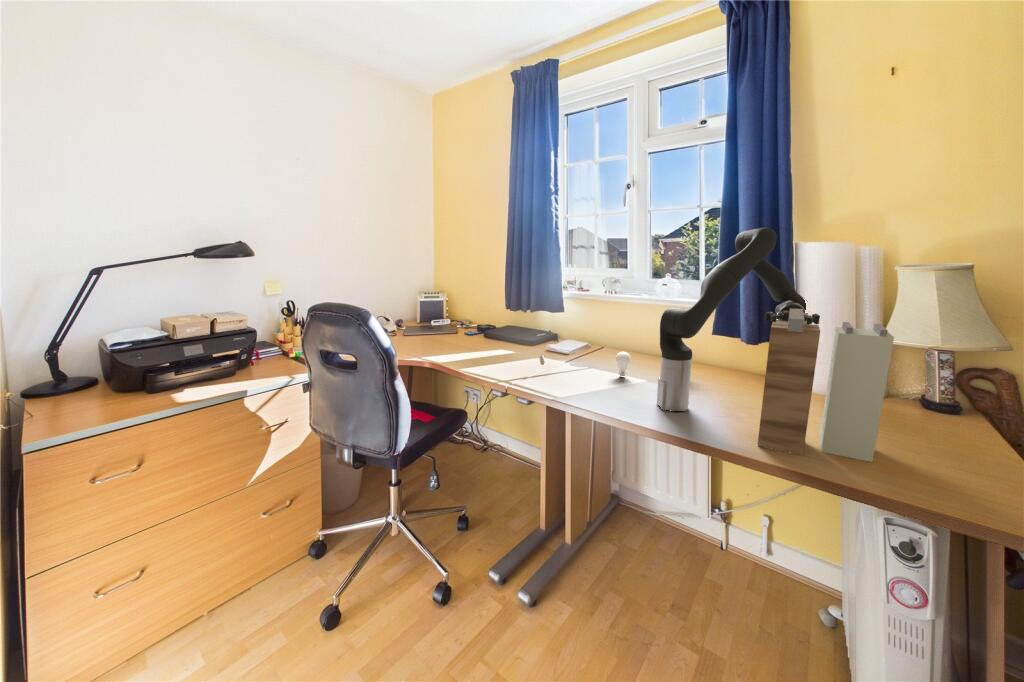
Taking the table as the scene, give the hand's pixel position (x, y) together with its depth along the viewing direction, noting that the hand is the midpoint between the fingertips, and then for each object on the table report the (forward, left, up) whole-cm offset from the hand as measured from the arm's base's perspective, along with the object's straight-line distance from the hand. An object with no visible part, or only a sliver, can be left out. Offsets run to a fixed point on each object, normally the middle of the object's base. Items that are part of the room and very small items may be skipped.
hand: (791, 320), depth 127 cm
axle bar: (-11, -20, +2) cm, 23 cm away
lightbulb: (-42, +39, -30) cm, 65 cm away
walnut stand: (-12, -22, -30) cm, 39 cm away
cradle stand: (+3, -25, -30) cm, 39 cm away
